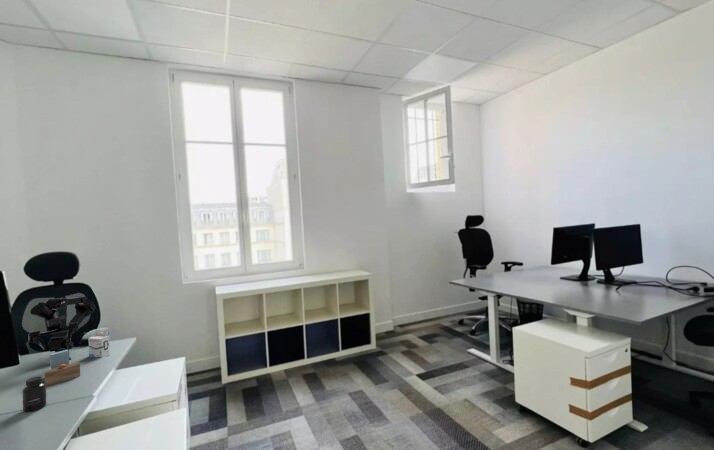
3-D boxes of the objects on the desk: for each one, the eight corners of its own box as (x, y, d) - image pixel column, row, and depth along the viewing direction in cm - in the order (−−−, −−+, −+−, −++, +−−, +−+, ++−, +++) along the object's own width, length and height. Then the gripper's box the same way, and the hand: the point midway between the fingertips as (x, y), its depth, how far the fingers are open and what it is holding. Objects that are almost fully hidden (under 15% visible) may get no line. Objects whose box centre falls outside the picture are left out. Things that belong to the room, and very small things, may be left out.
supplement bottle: (31, 413, 126) (30, 383, 126) (18, 412, 128) (16, 382, 127) (51, 404, 133) (50, 375, 133) (38, 402, 134) (37, 374, 134)
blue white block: (50, 375, 156) (49, 353, 156) (68, 370, 161) (67, 349, 161) (51, 378, 154) (50, 355, 154) (69, 372, 159) (68, 350, 158)
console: (42, 380, 154) (41, 363, 154) (75, 370, 164) (74, 355, 163) (46, 388, 146) (45, 370, 146) (80, 378, 155) (79, 361, 155)
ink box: (88, 359, 178) (87, 332, 178) (96, 355, 183) (95, 329, 183) (102, 359, 177) (101, 332, 177) (110, 355, 182) (109, 329, 182)
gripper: (27, 316, 158) (31, 344, 152) (76, 307, 173) (82, 331, 166) (26, 329, 164) (31, 355, 157) (74, 318, 178) (80, 342, 172)
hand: (57, 346), depth 163 cm, fingers open, 9 cm apart
